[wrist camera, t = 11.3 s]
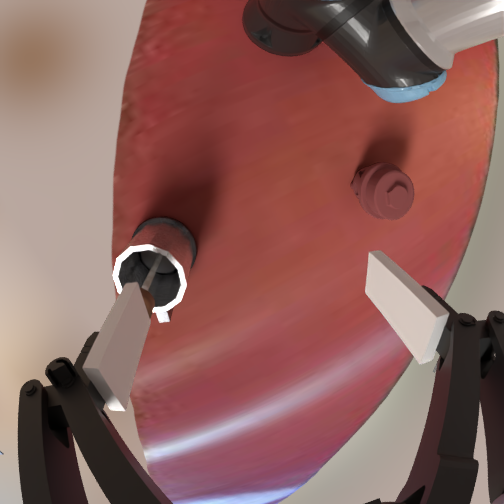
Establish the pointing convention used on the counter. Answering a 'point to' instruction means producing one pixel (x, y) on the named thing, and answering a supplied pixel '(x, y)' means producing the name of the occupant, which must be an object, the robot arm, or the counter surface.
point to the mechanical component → (383, 191)
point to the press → (168, 244)
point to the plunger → (156, 265)
